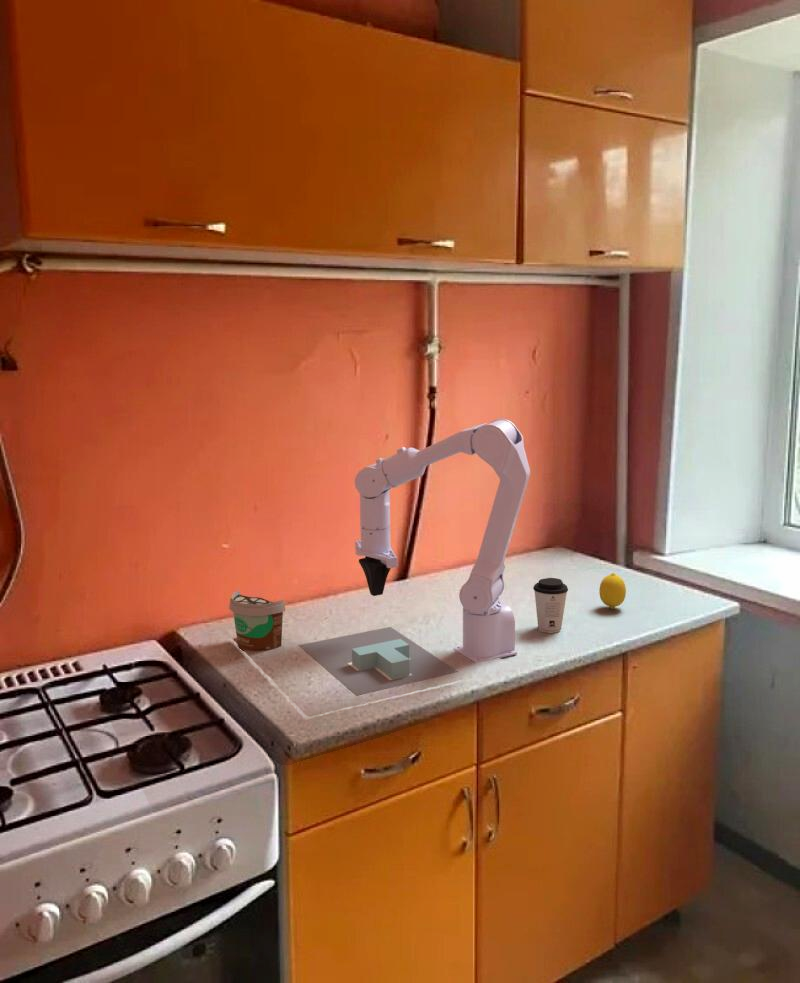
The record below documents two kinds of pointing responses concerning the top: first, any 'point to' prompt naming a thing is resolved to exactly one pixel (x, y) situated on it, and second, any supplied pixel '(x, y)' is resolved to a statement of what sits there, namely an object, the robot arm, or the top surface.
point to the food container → (257, 622)
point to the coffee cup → (550, 604)
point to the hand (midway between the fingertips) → (376, 594)
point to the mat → (339, 664)
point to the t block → (384, 658)
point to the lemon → (612, 590)
